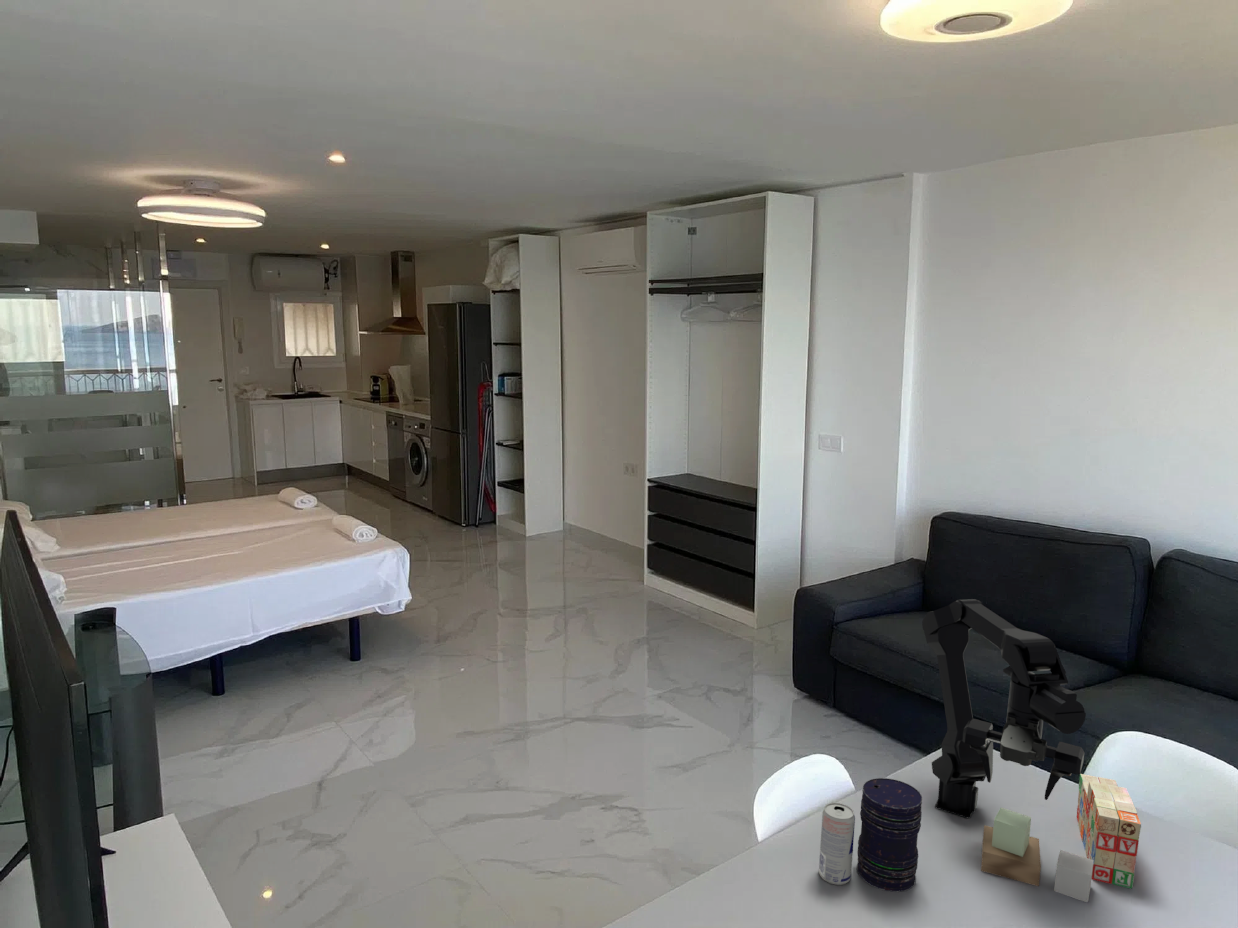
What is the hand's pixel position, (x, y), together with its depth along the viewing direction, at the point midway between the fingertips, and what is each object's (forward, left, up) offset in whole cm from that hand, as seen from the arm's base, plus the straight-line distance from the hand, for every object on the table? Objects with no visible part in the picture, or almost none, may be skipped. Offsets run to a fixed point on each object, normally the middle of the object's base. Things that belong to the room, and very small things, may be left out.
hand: (1017, 789), depth 144 cm
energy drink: (-24, -24, -13) cm, 37 cm away
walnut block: (0, -2, -13) cm, 13 cm away
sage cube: (0, -2, -9) cm, 10 cm away
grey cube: (+10, -3, -13) cm, 17 cm away
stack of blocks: (+13, +12, -13) cm, 23 cm away
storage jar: (-17, -18, -13) cm, 28 cm away
